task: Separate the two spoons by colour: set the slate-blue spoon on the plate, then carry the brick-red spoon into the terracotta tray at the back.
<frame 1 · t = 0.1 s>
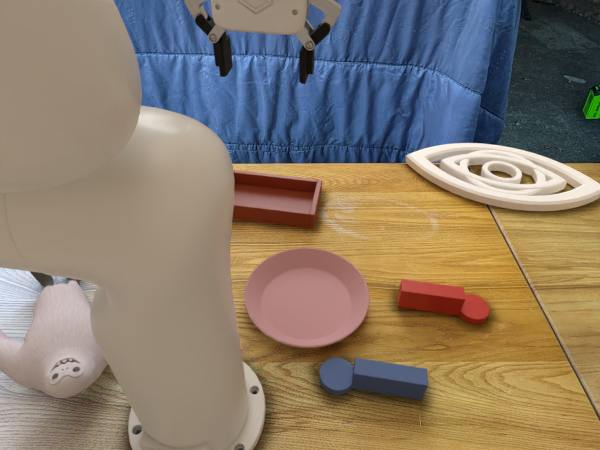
hand: (265, 75, 54), 19 cm above the table, tool pointing down, fingers open, 9 cm apart
decorative sculpture: (406, 151, 72), point 2 cm above the table
red spoon: (427, 305, 52), on the table
tray: (270, 204, 65), on the table
yeti figurine: (48, 261, 53), point 3 cm above the table
plate: (306, 303, 52), on the table
blue spoon: (386, 386, 45), on the table
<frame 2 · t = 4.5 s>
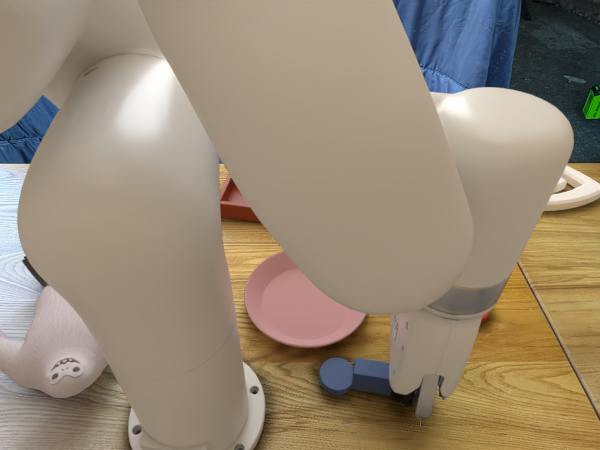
hand: (407, 388, 44), 0 cm above the table, tool pointing down, fingers closed on blue spoon
blue spoon: (386, 386, 45), on the table, touching gripper
everything else where it was.
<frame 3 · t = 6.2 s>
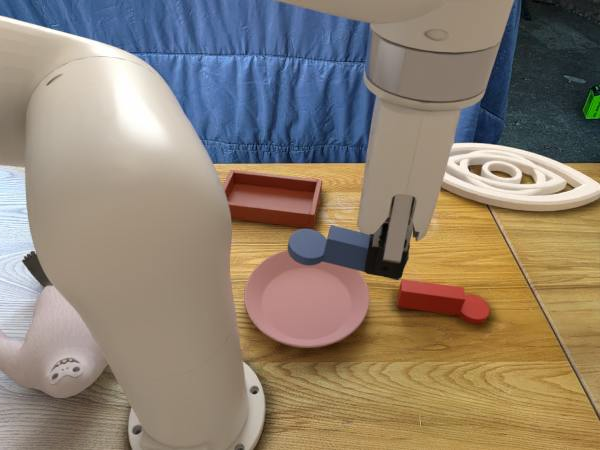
hand: (383, 263, 40), 13 cm above the table, tool pointing down, fingers closed on blue spoon
blue spoon: (360, 263, 40), point 12 cm above the table, tilted 7°, touching gripper
everything else where it was.
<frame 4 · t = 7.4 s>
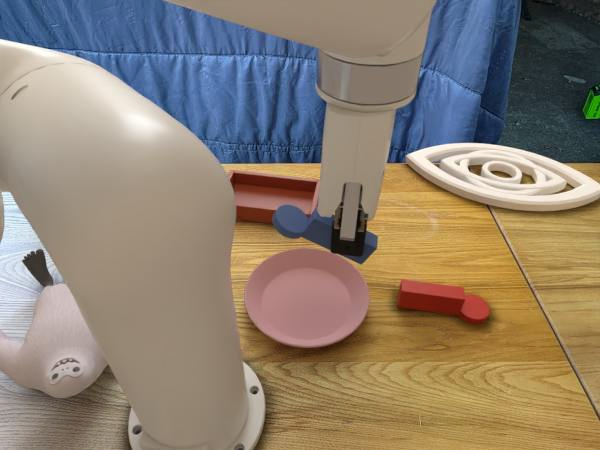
hand: (347, 244, 45), 10 cm above the table, tool pointing down, fingers closed on blue spoon
blue spoon: (332, 244, 45), point 10 cm above the table, tilted 25°, touching gripper
everything else where it was.
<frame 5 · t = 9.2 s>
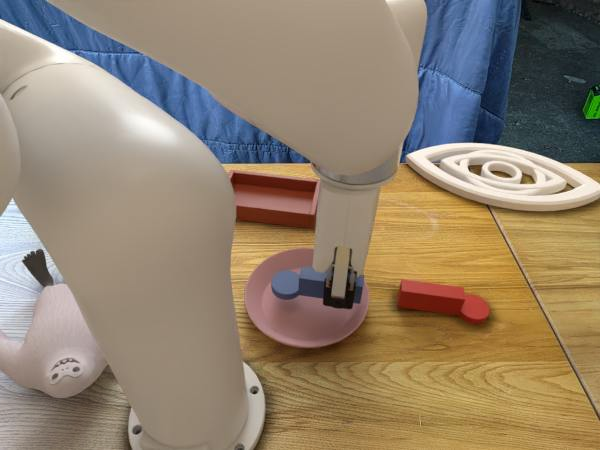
hand: (340, 287, 50), 3 cm above the table, tool pointing down, fingers open, 4 cm apart
plate: (306, 303, 52), on the table, touching blue spoon
blue spoon: (330, 293, 51), point 2 cm above the table, touching plate
everything else where it was.
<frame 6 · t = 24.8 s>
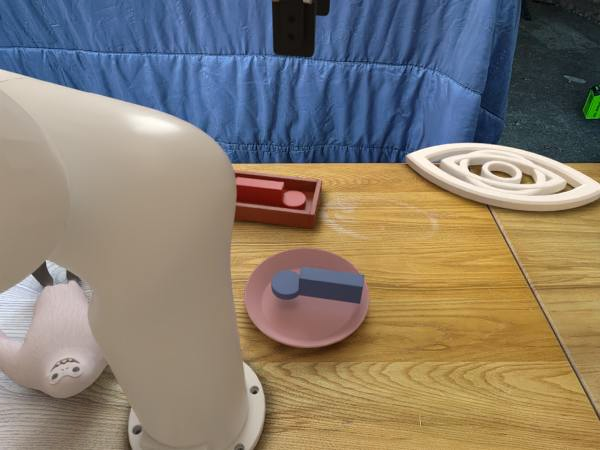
hand: (303, 32, 39), 28 cm above the table, tool pointing down, fingers open, 9 cm apart
red spoon: (259, 199, 65), point 1 cm above the table, touching tray
everything else where it was.
at the end: blue spoon inside the target area on the plate (2.6 cm from its centre), point 2.2 cm above the plate's base; red spoon inside the target area in the tray (1.1 cm from its centre), point 0.6 cm above the tray's base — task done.
